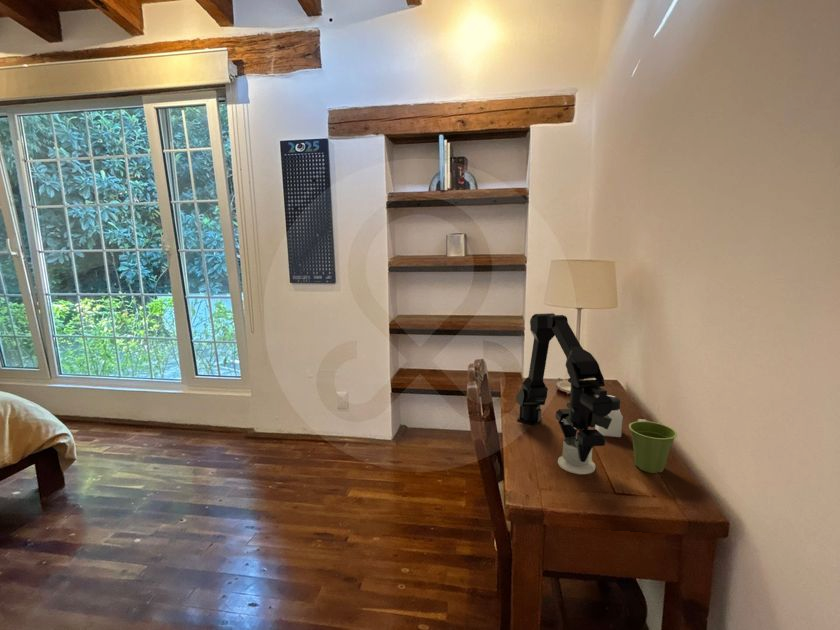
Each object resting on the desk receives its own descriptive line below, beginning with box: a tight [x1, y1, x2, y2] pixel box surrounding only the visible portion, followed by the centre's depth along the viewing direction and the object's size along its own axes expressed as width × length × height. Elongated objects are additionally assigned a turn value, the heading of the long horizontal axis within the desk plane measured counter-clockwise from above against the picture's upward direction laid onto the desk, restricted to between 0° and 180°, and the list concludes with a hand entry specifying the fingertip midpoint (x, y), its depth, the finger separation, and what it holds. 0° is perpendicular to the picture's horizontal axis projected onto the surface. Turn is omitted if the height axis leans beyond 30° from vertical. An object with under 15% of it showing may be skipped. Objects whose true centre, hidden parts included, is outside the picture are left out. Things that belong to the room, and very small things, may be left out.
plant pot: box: [628, 420, 678, 474], centre depth 124 cm, size 12×12×11 cm
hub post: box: [557, 455, 596, 475], centre depth 126 cm, size 10×10×5 cm
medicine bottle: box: [594, 394, 624, 438], centre depth 146 cm, size 7×7×12 cm
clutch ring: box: [561, 435, 593, 466], centre depth 125 cm, size 7×7×5 cm
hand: (576, 455), depth 125 cm, fingers closed on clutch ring, 7 cm apart
